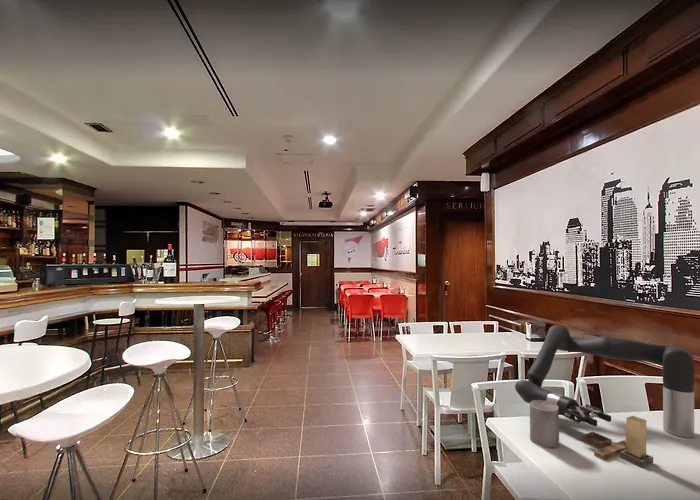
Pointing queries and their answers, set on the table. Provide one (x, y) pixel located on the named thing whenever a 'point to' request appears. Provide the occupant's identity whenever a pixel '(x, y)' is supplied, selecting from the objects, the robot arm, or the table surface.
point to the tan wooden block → (636, 437)
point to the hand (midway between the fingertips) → (603, 421)
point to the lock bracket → (613, 449)
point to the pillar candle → (544, 423)
